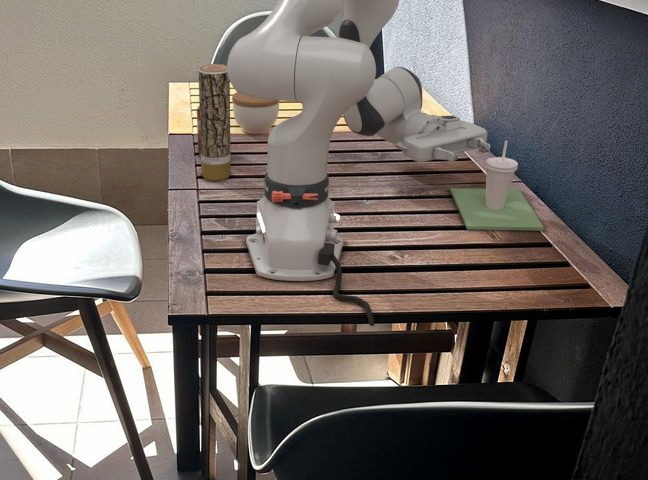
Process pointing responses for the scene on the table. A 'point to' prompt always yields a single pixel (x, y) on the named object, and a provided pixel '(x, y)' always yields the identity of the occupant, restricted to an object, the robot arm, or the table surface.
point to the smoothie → (499, 179)
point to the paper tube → (214, 121)
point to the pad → (495, 211)
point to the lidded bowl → (254, 113)
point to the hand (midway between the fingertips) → (471, 153)
